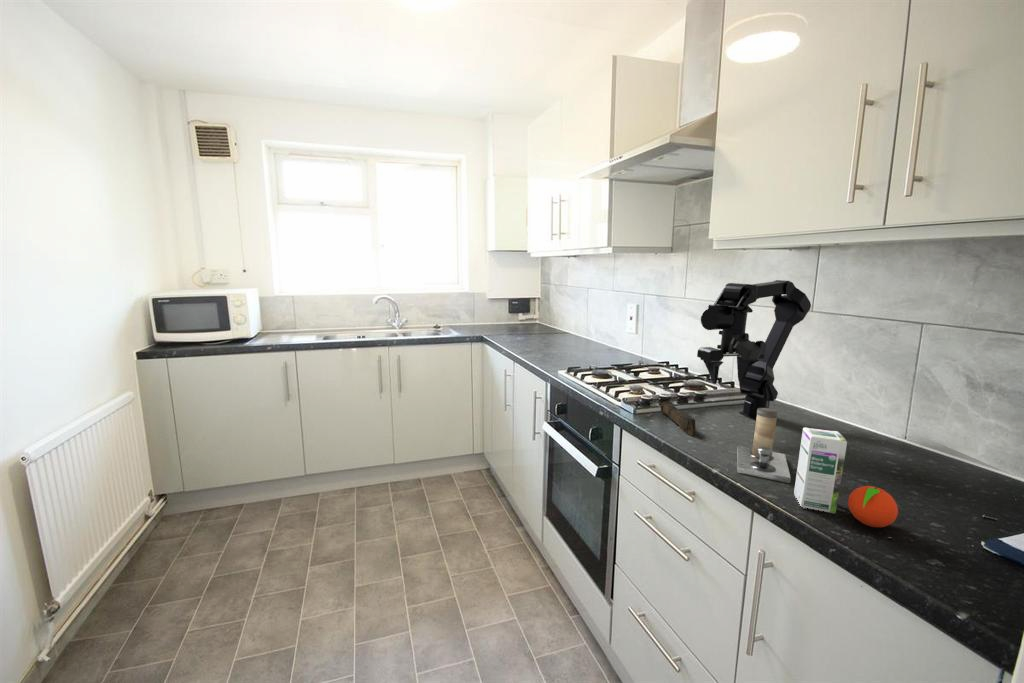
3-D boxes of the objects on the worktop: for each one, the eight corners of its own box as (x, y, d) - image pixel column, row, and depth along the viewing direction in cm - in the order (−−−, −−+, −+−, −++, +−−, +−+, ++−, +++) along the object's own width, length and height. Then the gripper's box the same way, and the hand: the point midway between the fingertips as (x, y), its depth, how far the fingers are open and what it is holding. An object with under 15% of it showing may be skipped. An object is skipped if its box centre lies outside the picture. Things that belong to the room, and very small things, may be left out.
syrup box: (800, 508, 84) (811, 436, 82) (792, 493, 90) (803, 425, 87) (835, 514, 82) (848, 441, 80) (826, 499, 88) (837, 429, 85)
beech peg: (756, 450, 107) (762, 406, 105) (774, 456, 104) (781, 411, 102) (748, 454, 105) (754, 409, 103) (766, 460, 101) (772, 414, 99)
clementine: (883, 542, 74) (891, 503, 73) (835, 522, 80) (842, 485, 79) (900, 527, 79) (907, 490, 78) (853, 509, 84) (860, 474, 83)
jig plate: (737, 449, 110) (739, 429, 109) (784, 458, 106) (787, 437, 105) (737, 472, 98) (740, 449, 97) (789, 483, 94) (793, 459, 93)
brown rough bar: (659, 413, 136) (660, 398, 136) (672, 413, 136) (673, 398, 136) (682, 437, 118) (684, 421, 117) (697, 437, 118) (699, 421, 117)
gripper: (728, 334, 114) (721, 392, 117) (784, 332, 119) (777, 388, 122) (698, 327, 124) (693, 381, 127) (751, 326, 130) (745, 377, 133)
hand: (727, 382), depth 127 cm, fingers open, 9 cm apart
